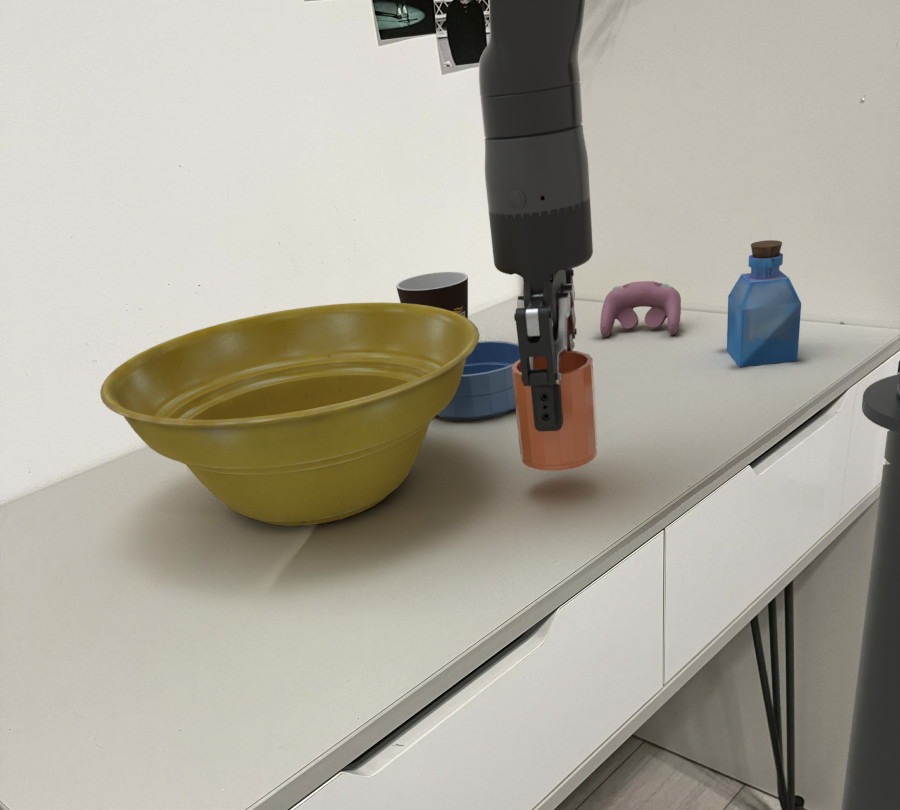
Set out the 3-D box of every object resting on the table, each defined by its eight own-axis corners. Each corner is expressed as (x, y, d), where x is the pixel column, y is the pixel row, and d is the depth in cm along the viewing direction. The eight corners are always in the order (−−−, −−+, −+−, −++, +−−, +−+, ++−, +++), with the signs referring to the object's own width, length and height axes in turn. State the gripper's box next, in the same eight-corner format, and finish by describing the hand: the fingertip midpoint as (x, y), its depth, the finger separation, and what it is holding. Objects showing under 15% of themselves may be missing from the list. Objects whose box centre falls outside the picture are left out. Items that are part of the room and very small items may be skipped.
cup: (600, 439, 82) (595, 348, 78) (593, 469, 77) (587, 374, 73) (528, 441, 84) (519, 352, 80) (515, 472, 79) (505, 378, 75)
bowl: (540, 382, 108) (537, 338, 105) (522, 421, 98) (518, 373, 95) (438, 386, 111) (432, 343, 108) (411, 424, 101) (404, 378, 98)
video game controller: (681, 340, 120) (684, 282, 119) (678, 333, 115) (681, 274, 115) (603, 342, 123) (605, 286, 122) (597, 336, 118) (599, 278, 118)
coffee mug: (466, 348, 123) (457, 268, 118) (485, 365, 115) (476, 281, 110) (378, 365, 121) (365, 285, 116) (392, 384, 114) (379, 299, 108)
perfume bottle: (781, 344, 109) (788, 234, 103) (797, 360, 103) (805, 245, 97) (726, 350, 109) (729, 241, 103) (739, 367, 104) (743, 253, 98)
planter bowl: (568, 472, 85) (558, 322, 78) (263, 626, 69) (217, 452, 62) (358, 408, 107) (336, 287, 101) (88, 512, 91) (41, 375, 84)
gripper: (577, 212, 63) (591, 446, 72) (599, 177, 75) (609, 381, 84) (468, 223, 65) (494, 449, 74) (506, 187, 77) (525, 386, 86)
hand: (555, 412), depth 79 cm, fingers closed on cup, 6 cm apart
